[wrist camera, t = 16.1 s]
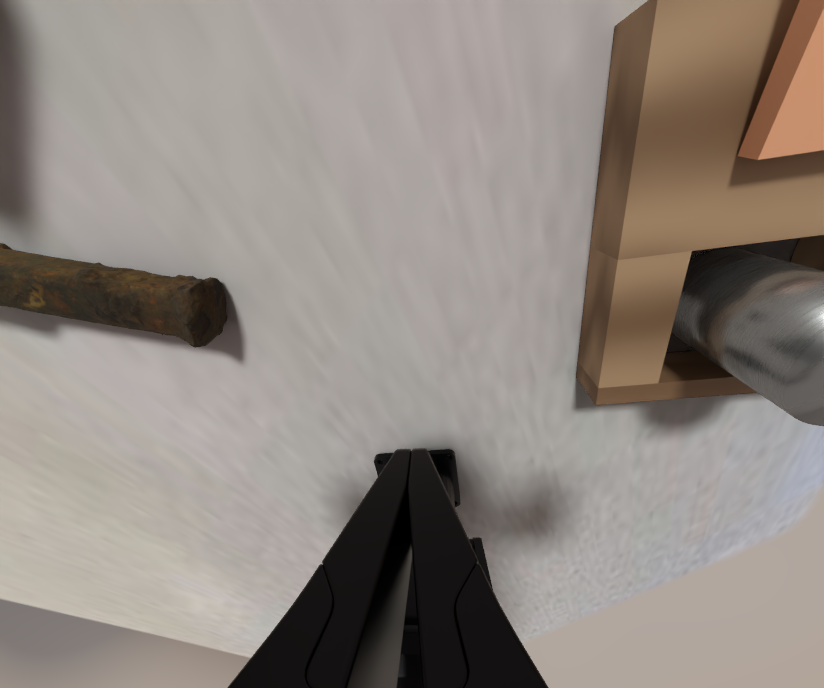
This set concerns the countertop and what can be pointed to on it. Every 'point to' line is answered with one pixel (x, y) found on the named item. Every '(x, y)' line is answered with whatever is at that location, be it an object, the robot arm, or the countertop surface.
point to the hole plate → (684, 188)
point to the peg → (759, 325)
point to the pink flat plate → (792, 92)
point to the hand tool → (113, 295)
